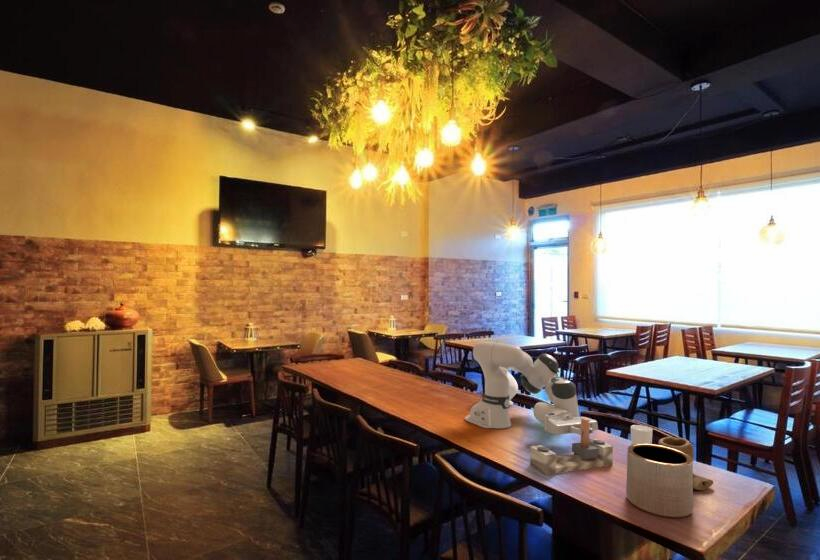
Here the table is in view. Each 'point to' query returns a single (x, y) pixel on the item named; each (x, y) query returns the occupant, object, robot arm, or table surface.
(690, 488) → the planter
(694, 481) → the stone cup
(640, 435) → the white cup
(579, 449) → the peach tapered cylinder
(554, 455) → the rail track
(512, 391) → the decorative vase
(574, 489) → the table surface
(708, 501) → the table surface
